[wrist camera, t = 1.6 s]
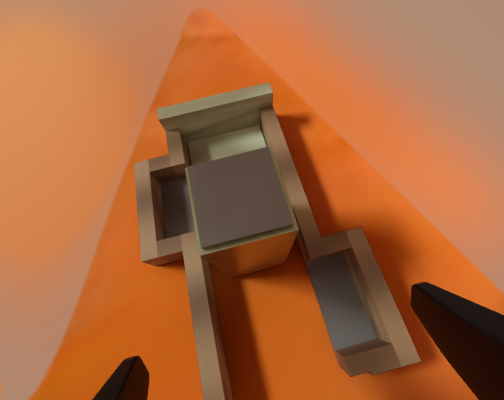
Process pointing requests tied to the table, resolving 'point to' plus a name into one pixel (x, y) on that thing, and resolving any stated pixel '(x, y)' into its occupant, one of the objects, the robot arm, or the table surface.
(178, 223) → the trap lane
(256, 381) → the table surface
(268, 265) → the olive tin
